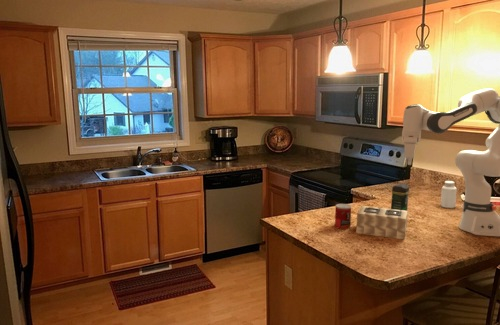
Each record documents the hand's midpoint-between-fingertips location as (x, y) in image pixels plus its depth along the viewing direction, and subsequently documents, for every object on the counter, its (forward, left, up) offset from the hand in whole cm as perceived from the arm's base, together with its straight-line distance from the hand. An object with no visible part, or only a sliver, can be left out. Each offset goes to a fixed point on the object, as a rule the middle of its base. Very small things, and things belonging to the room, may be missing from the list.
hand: (409, 164), depth 208 cm
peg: (+5, +18, -31) cm, 36 cm away
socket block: (+10, +18, -31) cm, 37 cm away
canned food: (+29, +18, -31) cm, 46 cm away
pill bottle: (-21, -43, -31) cm, 57 cm away
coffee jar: (+4, -9, -31) cm, 33 cm away
